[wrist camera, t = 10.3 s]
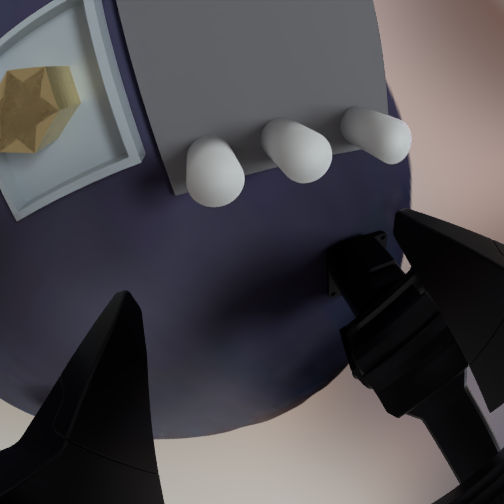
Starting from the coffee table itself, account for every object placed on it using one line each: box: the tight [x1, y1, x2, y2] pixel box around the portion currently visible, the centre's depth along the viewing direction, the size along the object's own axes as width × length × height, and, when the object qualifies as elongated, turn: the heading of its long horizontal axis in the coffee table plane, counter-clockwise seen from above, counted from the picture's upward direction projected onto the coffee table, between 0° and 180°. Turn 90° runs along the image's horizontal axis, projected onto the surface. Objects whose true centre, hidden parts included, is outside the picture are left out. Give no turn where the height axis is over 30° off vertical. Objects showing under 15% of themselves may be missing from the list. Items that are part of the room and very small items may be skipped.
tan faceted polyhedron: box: [0, 66, 81, 153], centre depth 11 cm, size 6×5×4 cm
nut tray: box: [0, 0, 146, 221], centre depth 12 cm, size 13×11×2 cm
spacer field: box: [116, 0, 412, 207], centre depth 11 cm, size 20×17×5 cm
